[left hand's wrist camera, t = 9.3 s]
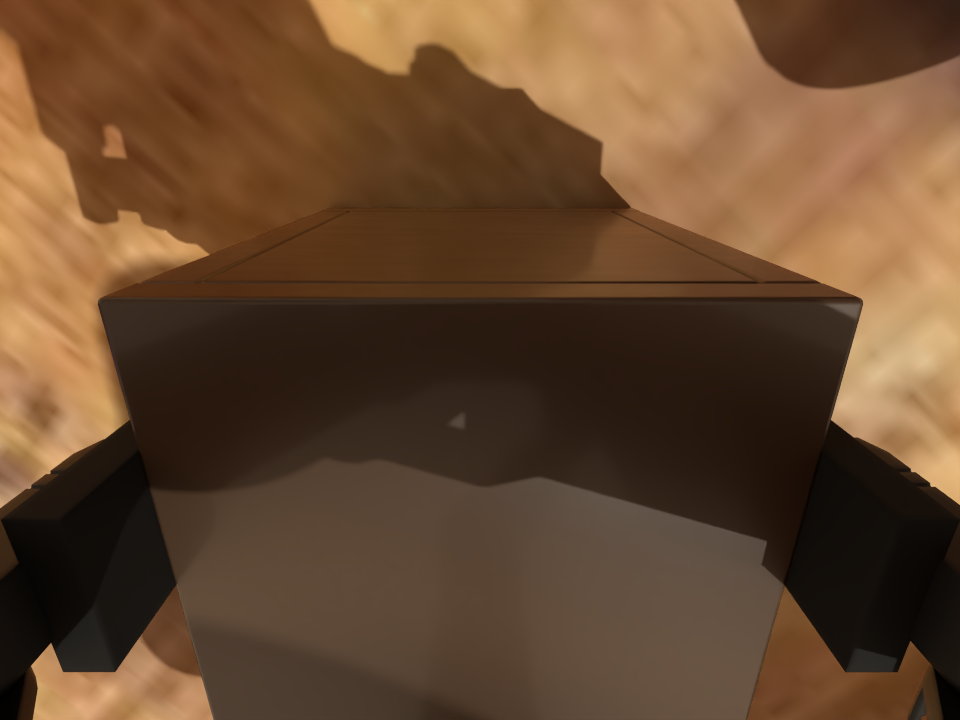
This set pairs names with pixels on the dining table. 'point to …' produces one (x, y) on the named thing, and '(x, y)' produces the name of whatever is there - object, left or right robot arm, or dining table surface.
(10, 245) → the dining table surface
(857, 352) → the dining table surface
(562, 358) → the cabinet
